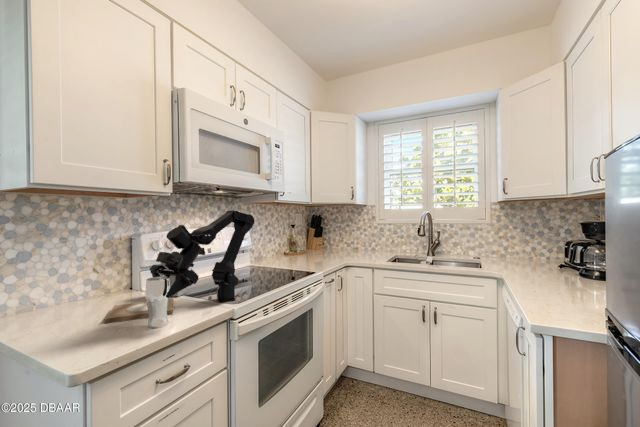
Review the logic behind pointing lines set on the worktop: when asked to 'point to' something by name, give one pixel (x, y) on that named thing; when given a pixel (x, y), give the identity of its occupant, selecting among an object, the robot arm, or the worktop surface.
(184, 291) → the skincare box
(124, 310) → the walnut board
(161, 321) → the beer glass
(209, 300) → the worktop surface
